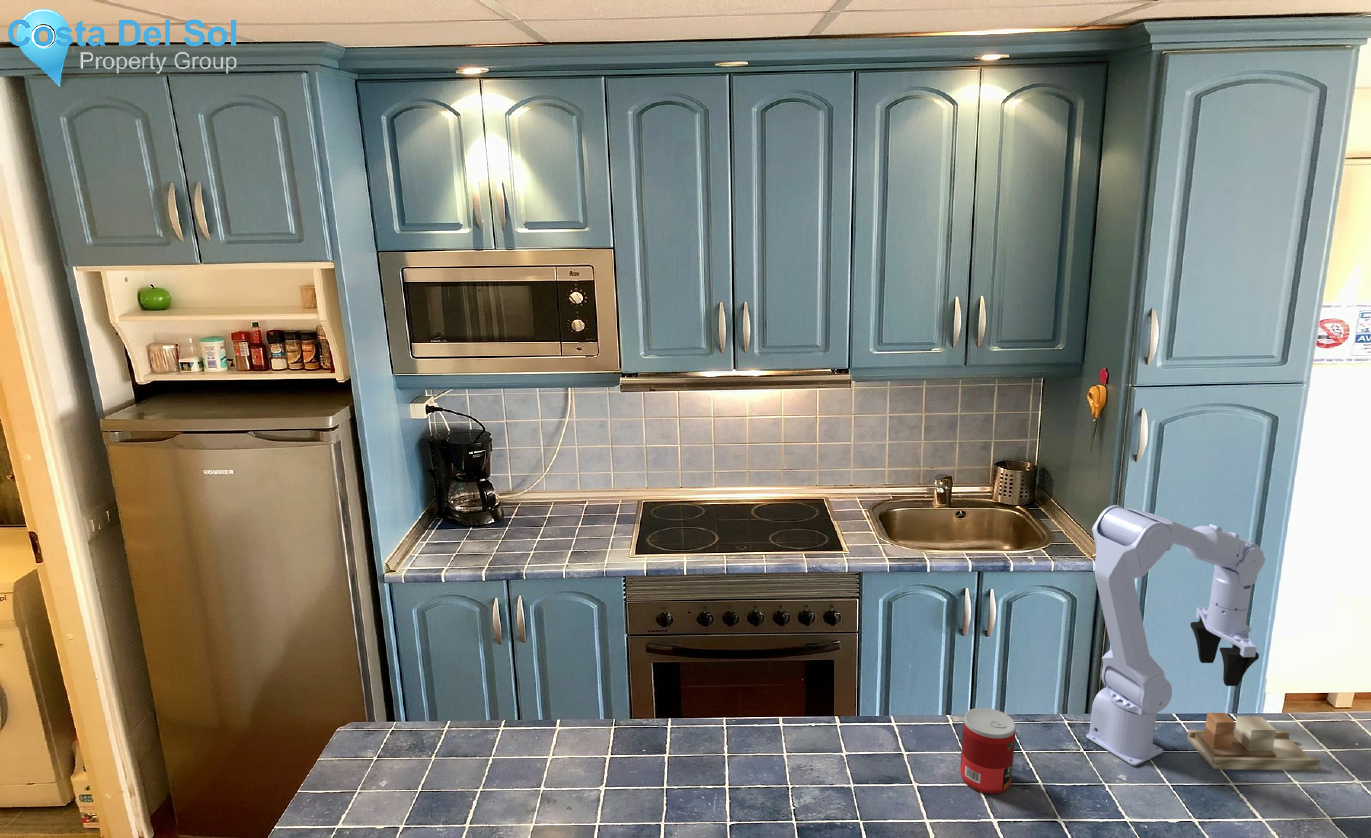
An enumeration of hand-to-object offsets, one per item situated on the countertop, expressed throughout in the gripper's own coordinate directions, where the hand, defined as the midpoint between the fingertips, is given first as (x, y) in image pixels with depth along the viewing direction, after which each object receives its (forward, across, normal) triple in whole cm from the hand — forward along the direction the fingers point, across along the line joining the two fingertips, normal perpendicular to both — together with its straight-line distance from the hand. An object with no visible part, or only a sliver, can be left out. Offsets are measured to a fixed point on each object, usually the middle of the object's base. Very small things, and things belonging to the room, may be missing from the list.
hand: (1218, 673), depth 151 cm
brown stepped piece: (+9, -8, +1) cm, 13 cm away
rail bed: (+10, -8, -2) cm, 14 cm away
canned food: (+11, -16, +45) cm, 49 cm away
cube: (+8, -8, -2) cm, 12 cm away
